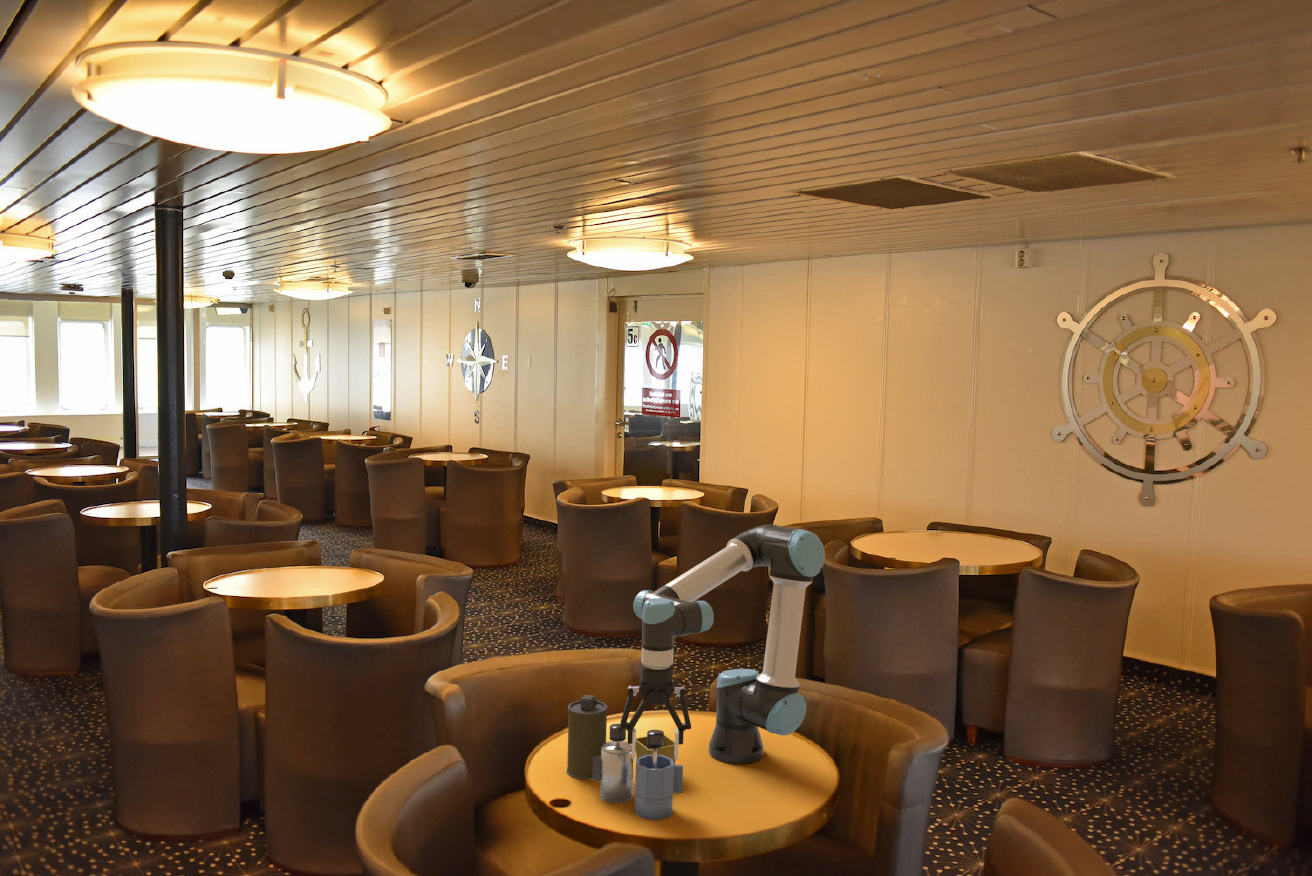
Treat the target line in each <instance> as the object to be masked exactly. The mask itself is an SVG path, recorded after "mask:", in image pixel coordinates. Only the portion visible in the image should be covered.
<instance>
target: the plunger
mask: <svg viewBox="0 0 1312 876" xmlns="http://www.w3.org/2000/svg"><path fill="white" fill-rule="evenodd" d="M664 734H665V732H664V731H663V730H661V729H650V730H648V731H646V736H647V746H648V747H650V748H653V769H657V748H661V747H663V746H664Z"/></svg>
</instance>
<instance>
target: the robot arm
mask: <svg viewBox="0 0 1312 876" xmlns="http://www.w3.org/2000/svg"><path fill="white" fill-rule="evenodd" d="M825 558H826V553H825V547H824V543H823V542H822V541H821V540H820V537H819V536H818V535H817V534H815V533H813V532H812V531H808V530H805V529H801V528H795V527H794V528H793V527H787V526H783V525H782V526H781V525H777V524H764V525H759V526H756V527H753V528H751V529H748V530H745V531H743V532H742V533H740V534H738V535H736V536H735V537H733V538H731V539H730V540H729V541H728V542H727V543H726V546H725V547H724V548H723V549H721V550H719V551H718V552H716V553H715V554H713V555H711V556H710V557H708V558H707V559H705V560H703V561H702V562H700V563H699V564H697V565H695V566H694V567H692V568H690V569H689V570H687V571H686V572H684V573H683V574H681V575H679V576H677V577H676V578H674V579H673V580H670V581H669V582H668V583H666V584H664V585H663V586H662V587H660V588H657V589H656V590H654V591H653V590H652V589H650V590H647V589H646V590H645V589H644V590H641V591H640V592H638V594H636V596H635V598H634V600H633V606H632V607H633V612H634V614H635V615H636V617H638V618H639V619H641V626H642V627H641V664H642V665H641V669H640V670H641V671H640V683H639V685H638V686H637V685H636V686H633V685H632V684H631V685H628V687H627V699H626V702H625V705H624V708H623V713H622V715H621V716H622V717H621V719H620V723H619V724H620V727H621V728H622V729H626V732H627V742H628V744H631V745H632V759H633V760H636V751H635V747H636V738H637V737H636V735H637V728H636V725H637V723H638V722H639V720H640V718H641V716H642V715H643V713H644V712H645V709H646V708H647V707H648V706H649V705H664V706H665V707H666V709H667V710H668V713H669V714H670V716H671V719H672V720H673V722H674V724H675V725H676V726H675V727H676V728H674V742H675V751H674V756H675V759H676V760H679V747H680V746H679V745H683V744H684V733H685V731H687V730H691V729H692V722H691V718H690V714H689V711H688V706H687V703H686V702H687V701H686V688H685V686H683V685H681V686H679V687H678V686H674V683H673V680H674V679H673V677H674V676H673V674H674V673H673V672H674V667H673V664H674V644H675V643H674V642H675V638H678V637H683V636H684V637H685V636H688V635H694V634H700V633H703V632H706V631H708V630H710V629H711V627H713V624H714V621H715V619H714V611H713V608H712V607H711V605H710V604H709V603H708V602H707V601H705V600H698V599H699V598H701V597H703V596H704V595H706V594H707V593H709V592H710V591H712V590H713V589H715V588H717V587H718V586H720V585H722V584H723V583H725V582H726V581H728V580H729V579H731V578H733V577H735V576H736V575H737V574H739V573H740V572H741V571H742V572H748V571H750V570H752V569H753V568H757V567H767V568H769V574H768V577H769V579H771V581H772V583H773V587H772V594H771V604H770V612H769V619H768V627H767V635H766V641H765V642H766V643H765V651H764V652H765V653H764V660H763V667H762V672H761V673H759V671H758V670H755V669H750V668H734V669H728V670H724V671H722V672H721V673H719V675H718V676H717V682H716V683H717V684H716V687H715V688H716V696H715V697H716V699H715V703H716V705H715V706H716V708H715V709H716V710H715V711H716V713H715V714H716V715H715V726H714V729H713V731H712V734H711V737H710V740H709V743H708V753H709V755H710V756H711V757H713V758H714V759H716V760H719V761H721V762H725V763H731V764H750V763H755V762H757V761H759V760H761V759H762V758H763V757H764V744H763V740H762V736H761V734H760V730H759V728H760V729H763V730H764V731H767V732H768V733H771V734H776V735H778V736H783V737H784V736H785V737H786V736H789V735H791V734H793V733H794V732H795V731H796V730H797V729H798V728H799V727H801V725H802V724H803V721H804V719H805V716H806V713H807V702H806V699H805V698H804V696H803V695H802V694H800V682H799V681H798V679H797V677H796V671H797V663H798V653H799V646H800V638H801V631H802V630H801V629H802V620H803V615H804V605H805V596H806V591H807V590H806V588H807V587H808V586H810V585H811V584H812V583H813V580H814V577H815V576H817V575H818V574H819V573H820V572H821V569H823V568H824V565H825ZM638 693H640V695H641V696H642V699H641V701H640V703H639V704H638V707H637V708H636V710H635V711H634V714H633V715H632V717H631V718H630V720H629V721H628V718H629V716H630V712H631V708H632V706H633V702H634V697H637V695H638ZM674 693H675V694H676V697H678V698H679V703H680V706H681V707H680V708H681V711H682V715H683V720H684V722H682V721H681V719H680V717H679V715H678V713H677V711H676V708H675V707H674V704H673V703H672V701H671V697H672V696H673V694H674Z"/></svg>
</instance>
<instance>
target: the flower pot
mask: <svg viewBox="0 0 1312 876" xmlns="http://www.w3.org/2000/svg"><path fill="white" fill-rule="evenodd" d="M674 751H675V740H673V739H671V738H670V737H669V736H667V735H666V734H665V733H664V746H663V747H661V748H657V755H664V756H666V757H669V758H671V759H673V761H674V765H676V762H677V761H676V760H677V759H675V756H674ZM644 755H653V748H650V747H648V746H647V735H646V736H641V737H636V747H635V758H636V759H637V758H639V757H642V756H644Z"/></svg>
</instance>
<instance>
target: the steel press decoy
mask: <svg viewBox="0 0 1312 876" xmlns="http://www.w3.org/2000/svg"><path fill="white" fill-rule="evenodd" d="M626 735H627V730H626V729H622V728H621V727H620V723H612V724H611V725H609V740H610V741H606V743H605V744H604V745H603V746H602V748H601V756H593V776H592V779H591V780H592V782H600V784H599V785H600V791H599V792H600V793H599V796H600V799H601V800H602V801H604V802H605V803H609V804H624V803H628V802H630V801H631V800H632V799H633V797H634V796H633V795H634V794H633V793H634V792H633V791H634V790H633V789H634V787H633V786H634V759H632V744H628V741H625V740H626V739H627V736H626Z"/></svg>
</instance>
